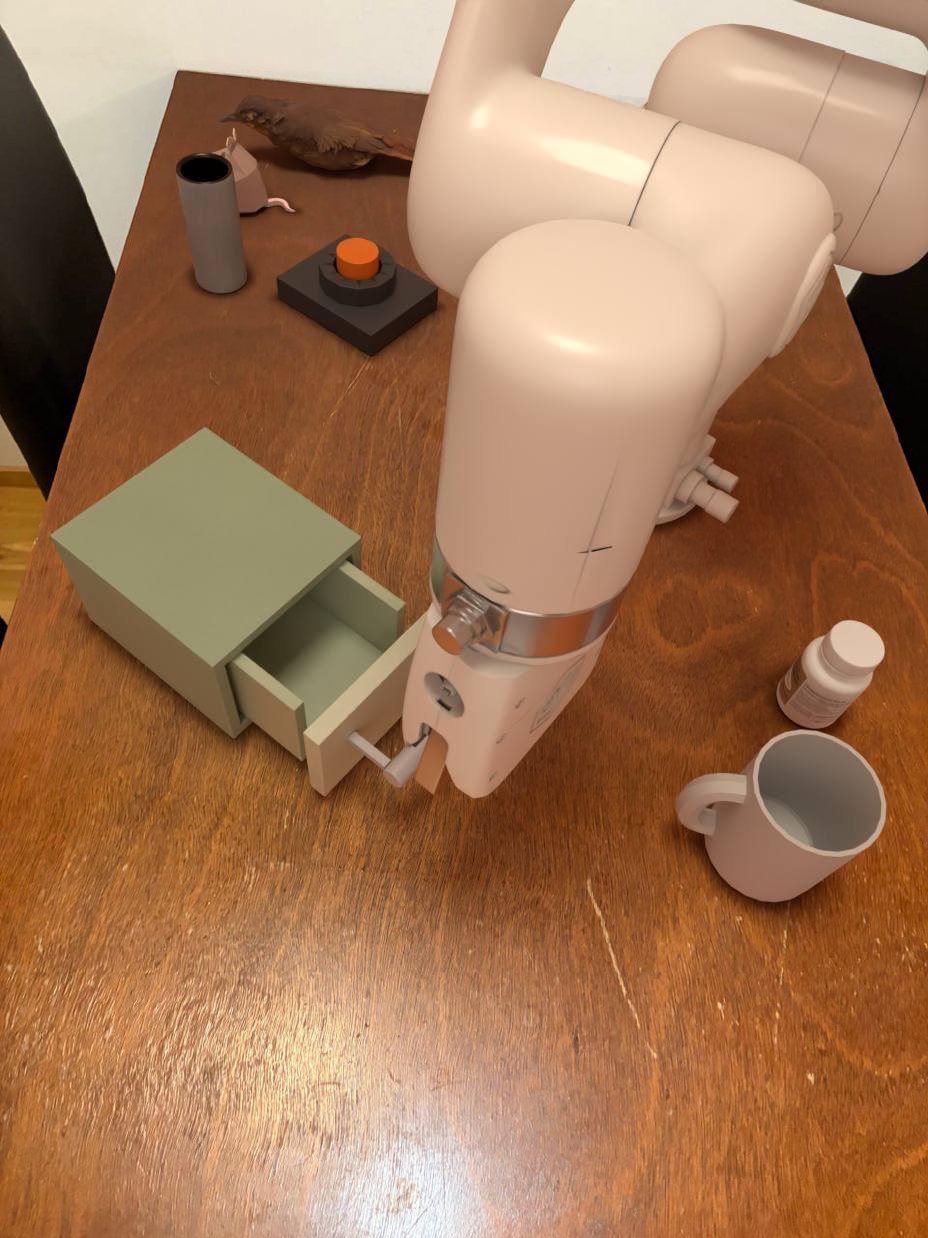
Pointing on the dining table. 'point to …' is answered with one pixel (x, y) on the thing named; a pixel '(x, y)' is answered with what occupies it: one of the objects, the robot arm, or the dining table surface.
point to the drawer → (332, 677)
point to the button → (357, 259)
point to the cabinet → (199, 564)
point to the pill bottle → (830, 674)
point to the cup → (786, 814)
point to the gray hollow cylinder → (212, 221)
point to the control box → (358, 298)
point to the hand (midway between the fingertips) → (479, 764)
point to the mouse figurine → (248, 179)
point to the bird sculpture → (320, 133)
